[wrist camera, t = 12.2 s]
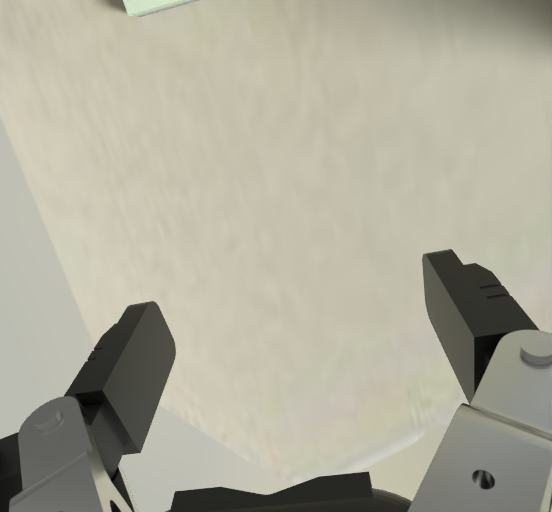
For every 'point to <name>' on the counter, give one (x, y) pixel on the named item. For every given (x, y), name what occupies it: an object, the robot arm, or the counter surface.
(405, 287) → the counter surface
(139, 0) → the board
